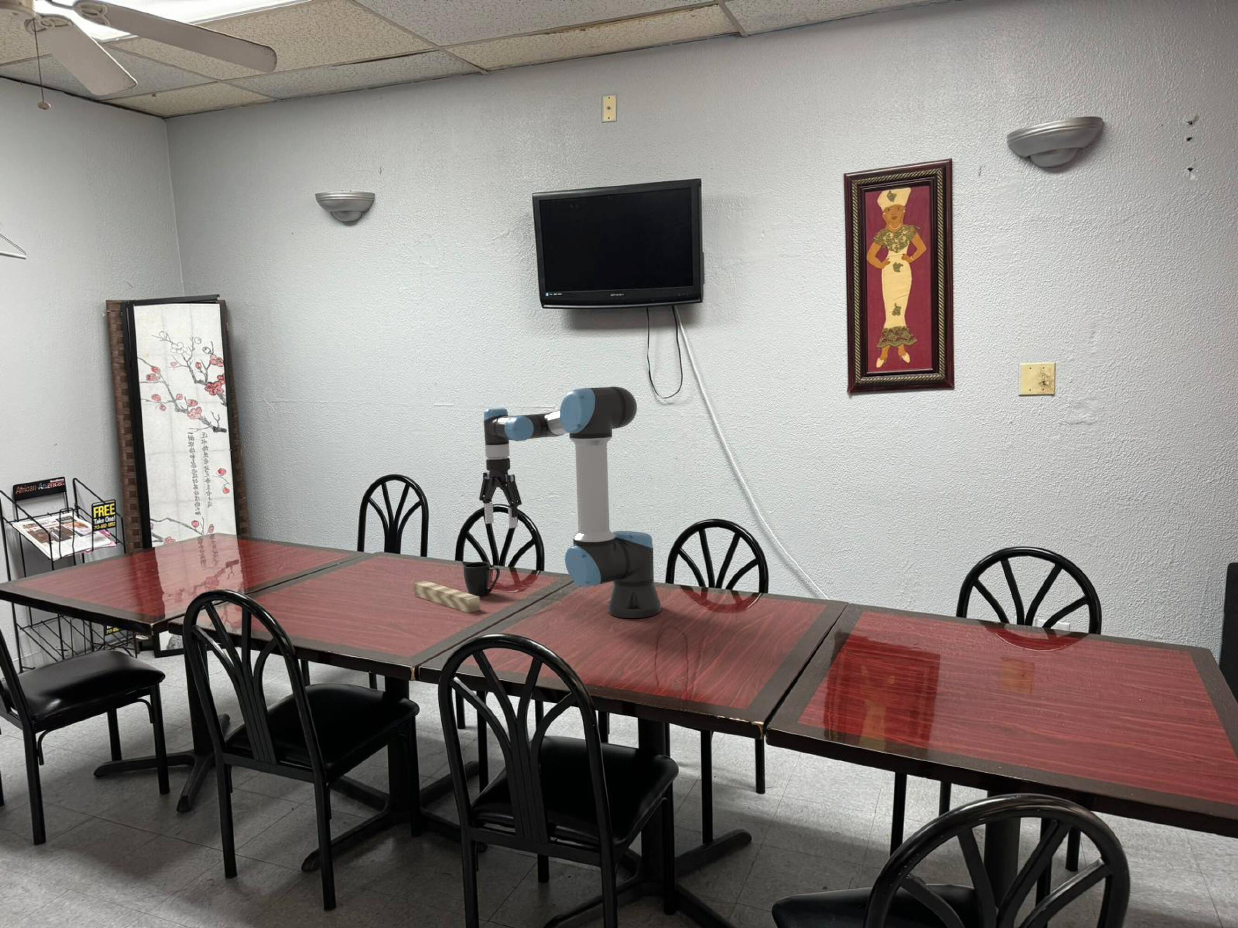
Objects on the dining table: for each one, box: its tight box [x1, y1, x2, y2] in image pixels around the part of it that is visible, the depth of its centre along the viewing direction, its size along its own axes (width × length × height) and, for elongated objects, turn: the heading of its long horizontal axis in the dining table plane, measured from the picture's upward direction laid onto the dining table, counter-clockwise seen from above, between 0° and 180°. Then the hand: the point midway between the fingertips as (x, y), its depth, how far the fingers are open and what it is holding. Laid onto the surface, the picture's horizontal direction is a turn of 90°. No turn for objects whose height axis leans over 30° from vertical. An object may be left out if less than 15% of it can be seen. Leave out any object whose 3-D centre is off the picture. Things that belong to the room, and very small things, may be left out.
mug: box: [462, 561, 501, 597], centre depth 275 cm, size 8×12×10 cm
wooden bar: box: [413, 580, 481, 614], centre depth 268 cm, size 30×4×4 cm, turn 43°
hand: (501, 525), depth 281 cm, fingers open, 12 cm apart
